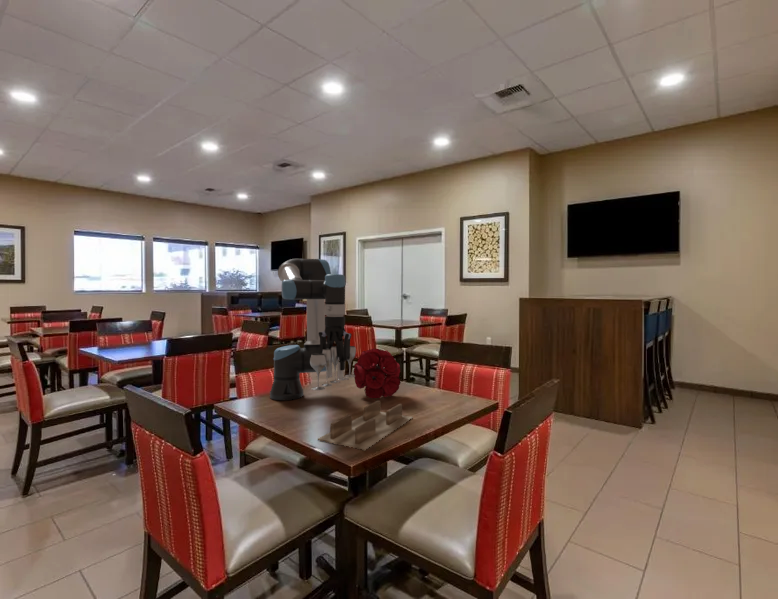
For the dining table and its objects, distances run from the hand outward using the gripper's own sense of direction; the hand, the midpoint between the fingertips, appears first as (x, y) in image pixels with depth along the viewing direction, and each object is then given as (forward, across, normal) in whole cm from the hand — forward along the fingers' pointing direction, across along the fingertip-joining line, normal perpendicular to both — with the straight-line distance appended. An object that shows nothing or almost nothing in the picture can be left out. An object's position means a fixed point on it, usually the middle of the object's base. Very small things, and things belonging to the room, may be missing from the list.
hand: (334, 378), depth 152 cm
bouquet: (+17, -4, +41) cm, 45 cm away
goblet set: (+2, 0, 0) cm, 2 cm away
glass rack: (+17, +15, 0) cm, 22 cm away
